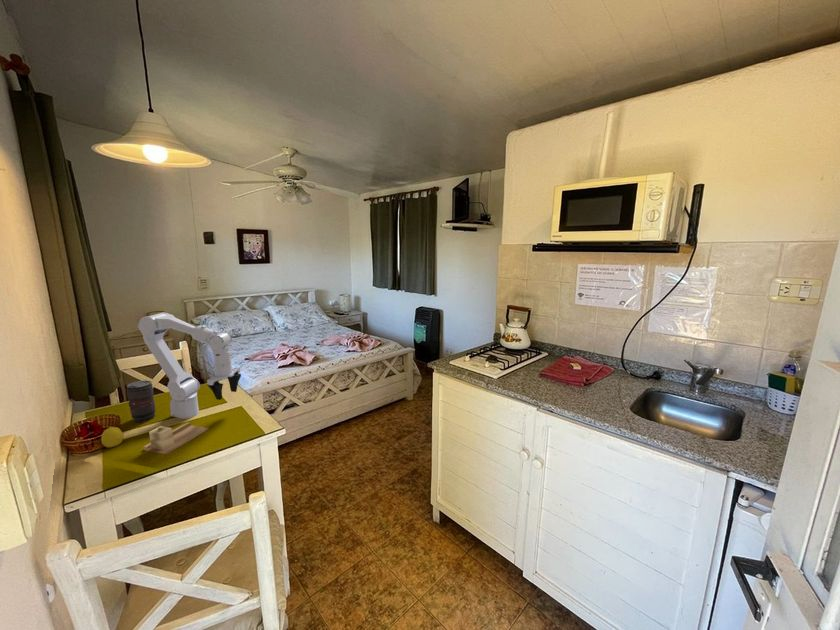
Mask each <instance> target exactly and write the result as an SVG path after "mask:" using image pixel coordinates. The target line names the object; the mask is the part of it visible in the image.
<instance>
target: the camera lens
mask: <svg viewBox="0 0 840 630" xmlns="http://www.w3.org/2000/svg"><path fill="white" fill-rule="evenodd" d="M126 394H127V399H128V406H129V411H130V414H131V418H132V419H133V421H134V422H135V423H143V422H147V421H150V420H151V419H154V418H155V416H156V404H155V396H154V386H153V383H152V381H151V380H138V381H133V382H131V383H129V384H127V385H126Z"/></svg>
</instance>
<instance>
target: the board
mask: <svg viewBox="0 0 840 630" xmlns="http://www.w3.org/2000/svg"><path fill="white" fill-rule="evenodd" d="M209 429H210V428H209V427H203V426H198V425H191V422H186V423H184V424H182V425H180V426H178V427H177V428H174V429H172V433H173V439H174V444H173V445H171V446H170V447H168V448H166V449H164V450H159V449H154V448H152V447H151V442H149V443H146V444H145V445H143V446H142V448H143V451H147V452H151V453H153V452H154V453H156V454H157V453H158V454H161V455H162V454H163V455H168V454H171V453H172V452H173V451H175V450H177V449H178V448H180V447H181V446H184V445H185V444H187V443H189V441H192V440H193V439H195V438H196V437H198V436H200V435H202V434H203V433H205V432H206V431H208V430H209Z"/></svg>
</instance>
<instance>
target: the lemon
mask: <svg viewBox="0 0 840 630" xmlns="http://www.w3.org/2000/svg"><path fill="white" fill-rule="evenodd" d="M123 440H124V435H123V431H122V430H121V429H120V427H116V426H109V427H108V428H106V429H105V430H104V431H103V432H102V434H101V443H102V445H103V446H104V447H105V448H113V447H117V446H119V445H120V444H121V443H122V442H123Z"/></svg>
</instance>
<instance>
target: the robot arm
mask: <svg viewBox="0 0 840 630" xmlns="http://www.w3.org/2000/svg"><path fill="white" fill-rule="evenodd" d="M137 328H138V329H139V331H140V333H141V334H142V338H143V342H144V344H145V345H146V347H147V348H148V350H149V351H150V353H151V355H152V356H153V357H154V358H155V360H156V362H157V363H158V364H159V365H160V367H161V369H162V370H163V372H164V374H165V375H166V377H167V378H168V379H169V380H168V383H167V389H168V391H169V396H170V398H172V399H171V400H170V402H169V408H170V415H171V417H175V418H178V419H182V420H183V419H190V418H194V417H196V416H198V415H199V414H200V409H199V401H198V391H199V389H200V387H201V383H200V382H199V381H198V379H196V378H195V377H194V376H193V375H192V374H191V373H189V372H185V371H184V369H183V367H182V365H180V363H179V362H178V360H177V358H176V357H175V355H174V354H173V351H171V349H170V347H169V346H168V345H167V343H166V342H165V340H164V336H165V334H166V332H168V330H169V329H172V330H175V331H179V332H181V333H184V334H187V335H191V337H192V339H193V340H196V341H198V342H200V343H204V344H207V345H208V346H209V348H210V349H211V350H212V355H213V362H214V363H213V364H214V369H215V370H214V371H215V374H214V375H213V376H212V377H210V378H209V379H207V380H206V382H207V384H206V385H207V387H208V388H210V390H211V391H212V393H213V395H214V398H215V400H218V401H221V400H223V386H224V383H221V381H222V380H223V381H224V380H225V379H227V380H228V382H229V384H228V385H229V388H230V392H231V393H232V392H233V393H237V390H238V384H239V381H240V379H241V377H242V374H241V373H240V372H241V368H240V367H234V368H232V367H233V366H232V359H231V349H230V344H232V336H231V334H230V333H229V332H227V331H218V330H215V329H214V330H213V329H211V328H208V327H207V325H204V324H203V325H197V326H195V325H194V324H191V323H188V322H186V321H184V320H181V319H179V318H177V317H175V315H174V314H170V313H168V312H163V311H162V312H159V313H157V314H156V313H155V314H151V315H149V316H148V315H147V316H143V317H141V318H140V319H139V322H138V325H137Z"/></svg>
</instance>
